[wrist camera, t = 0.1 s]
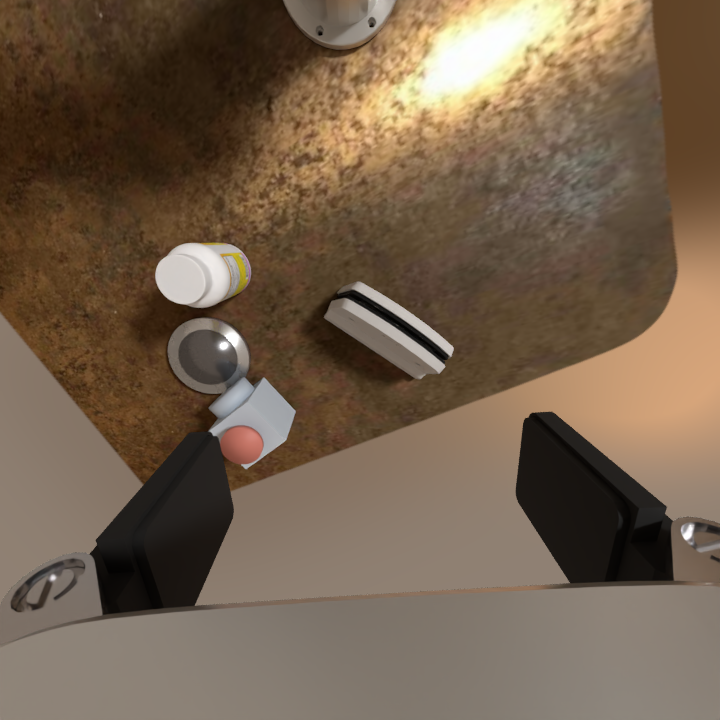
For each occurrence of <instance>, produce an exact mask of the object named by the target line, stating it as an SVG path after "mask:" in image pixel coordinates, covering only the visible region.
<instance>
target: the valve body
mask: <svg viewBox="0 0 720 720" xmlns="http://www.w3.org/2000/svg"><path fill="white" fill-rule="evenodd" d="M209 409H210V410H211V411H212V412H213V413H214V414H215V415H216V416H217V417H218V419H217V421H216V422H215V423H214V424H213V426H212V427H211V428H210V430H209V431H210V432H211V433H212V434H213V436H217V437H218V438H219V442H220V446H221V451H222V453H223V455H224V456H225V457H226V458H227V459H228V460H230V461H231V462H234V463H237V464H241V465H242V466H243V467H244V468H245V469H247V468H248V467H250V466H251V465H253V464H254V463H255V462H257V461H258V460H260V459H261V458H262V457H264V456H265V455H267V454H268V453H269V452H271V451H272V450H273V449H275V448H276V447H278V446H279V445H280V444H282V443H283V442H285V441H286V439H287V436H288V433H289V430H290V427H291V424H292V421H293V418H294V415H295V412H296V411H295V410H294V409H293V408H292V407H291V406H290V405H289V404H288V403H287V402H286V400H285V399H284V398H283V397H282V396H281V395H280V394H279V393H278V392H277V391H276V390H275V389H274V388H273V387H272V386H271V384H270V383H269V382H268V381H267V380H266V379H265V378H262V379H261V380H260V381H258V382H257V383H256V384H255V385H253V386H252V385H251V384H250V383H249V382H248V380H247V379H246V378H245V377H243V378H241V379H240V380H239V381H237V382H236V383H235V384H233V385H232V386H231V387H230V388H228V389H227V390H226V391H225V392H224V393H223V394H222V395H221V396H219V397H218V398H217V399H216V400H215V401H214V402H213V403H212V404H211V405H210V407H209ZM209 431H208V432H209Z"/></svg>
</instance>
